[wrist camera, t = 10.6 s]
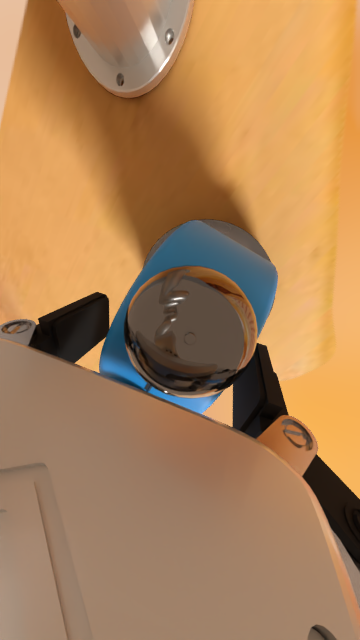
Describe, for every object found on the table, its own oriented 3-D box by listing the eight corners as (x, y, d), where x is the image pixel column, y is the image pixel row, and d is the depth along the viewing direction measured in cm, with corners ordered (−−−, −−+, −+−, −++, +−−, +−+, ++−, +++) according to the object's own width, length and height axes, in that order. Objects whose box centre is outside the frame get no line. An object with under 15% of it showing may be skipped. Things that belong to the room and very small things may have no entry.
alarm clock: (208, 222, 16) (98, 176, 3) (265, 256, 16) (387, 348, 3) (156, 324, 23) (54, 440, 10) (196, 348, 23) (145, 498, 10)
